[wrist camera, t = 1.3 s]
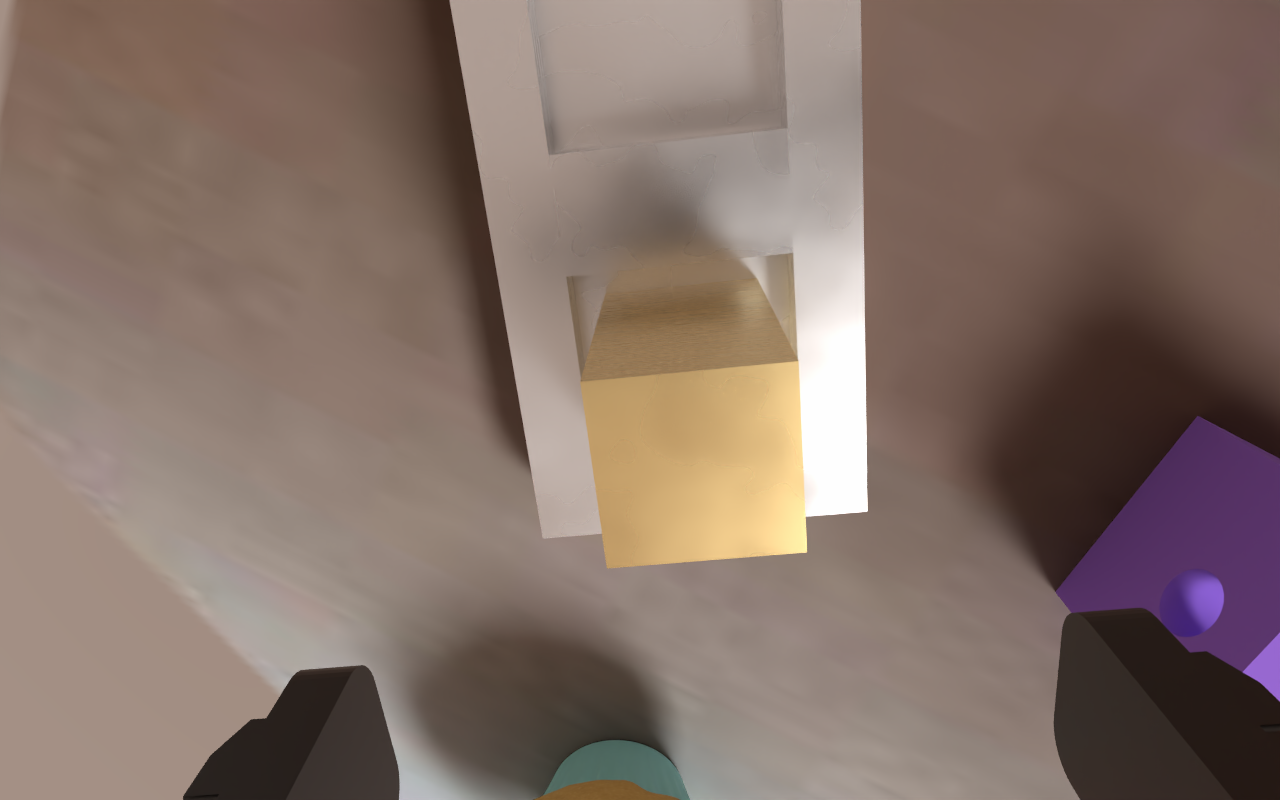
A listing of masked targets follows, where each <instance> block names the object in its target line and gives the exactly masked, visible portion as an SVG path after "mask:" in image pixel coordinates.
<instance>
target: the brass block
mask: <svg viewBox="0 0 1280 800" xmlns="http://www.w3.org/2000/svg"><path fill="white" fill-rule="evenodd" d="M580 385H581V392H582V399H583V406H584V413H585V420H586V427H587V433H588V440H589V447H590V454H591V461H592V468H593V475H594V482H595V489H596V496H597V503H598V510H599V517H600V524H601V531H602V537H603V544H604V551H605V558H606V565H607V568H618V567H630V566H643V565H655V564H668V563H680V562H692V561H705V560H717V559H730V558H742V557H754V556H767V555H779V554H792V553H804V552H807V540H806V517H805V494H804V471H803V448H802V424H801V401H800V378H799V361H798V359H797V357H796V355H795V353H794V351H793V349H792V347H791V345H790V343H789V341H788V339H787V337H786V335H785V333H784V331H783V329H782V327H781V325H780V323H779V321H778V319H777V317H776V315H775V313H774V311H773V309H772V307H771V305H770V303H769V301H768V299H767V297H766V295H765V293H764V291H763V289H762V287H761V285H760V283H759V281H758V279H757V278H752V279H743V280H733V281H723V282H713V283H703V284H694V285H684V286H674V287H664V288H654V289H645V290H635V291H625V292H615V293H606V294H605V296H604V300H603V303H602V307H601V310H600V314H599V317H598V321H597V324H596V328H595V331H594V335H593V338H592V342H591V345H590V349H589V352H588V356H587V359H586V363H585V366H584V370H583V373H582V377H581V380H580Z"/></svg>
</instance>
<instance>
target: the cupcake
mask: <svg viewBox="0 0 1280 800" xmlns="http://www.w3.org/2000/svg"><path fill="white" fill-rule="evenodd" d="M534 800H690V799H689V796H688V794H687V791H686V789H685V786H684V784H683V781H682V778H681V776H680V774H679V772H678V770H677V769H676V767H675V766H674V765H673V764H672V763H671V762H670V760H668V759H667V758H666V757H665V756H664V755H663V754H661V753H660V752H658V751H656V750H655V749H653V748H651V747H648V746H646V745H643V744H640V743H637V742H632V741H625V740H606V741H600V742H596V743H592V744H589V745H587V746H584V747H582V748H580V749H578V750H577V751H575V752H574V753H572V754H571V755H570V756H568V757H567V758H566V759H565V760H564V761H563V763H562V764H561V765H560V767H559V768H558V770H557V771H556V773H555V775H554V777H553V779H552V781H551V783H550V784H549V786H548V788H547V790H546V791H545V793H544V795H543V796H541V797H539V798H536V799H534Z"/></svg>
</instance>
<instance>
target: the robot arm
mask: <svg viewBox="0 0 1280 800" xmlns="http://www.w3.org/2000/svg"><path fill="white" fill-rule="evenodd" d="M1054 733H1055V740H1056V746H1057V750H1058V754H1059V757H1060V760H1061V763H1062V766H1063V768H1064V771H1065V773H1066V775H1067V778H1068V779H1069V781H1070V783H1071V785H1072V786H1073V788H1074V790H1075V791H1076V793H1077V795H1078V796H1079V798H1080V800H1280V701H1279V700H1278V699H1277V698H1276V697H1275V696H1274V695H1273V694H1272V693H1270V692H1269V691H1268V690H1267V689H1266V688H1265V687H1264V686H1263V685H1262V684H1261V683H1260V682H1258V681H1257V680H1255V679H1253V678H1252V677H1250V676H1248V675H1246V674H1245V673H1243V672H1241V671H1240V670H1238V669H1236V668H1235V667H1233V666H1231V665H1229V664H1228V663H1226V662H1224V661H1223V660H1221V659H1219V658H1218V657H1216V656H1214V655H1212V654H1211V653H1209V652H1207V651H1202V652H1189V651H1188V650H1187V649H1186V648H1185V647H1184V646H1183V645H1182V644H1181V643H1180V642H1179V640H1178V639H1177V638H1176V637H1175V636H1174V635H1173V634H1172V633H1171V632H1170V631H1169V630H1168V629H1167V628H1166V627H1165V626H1164V625H1163V624H1162V623H1161V622H1160V620H1159V619H1158V618H1157V617H1156V616H1155V615H1153V614H1152V613H1151V612H1150V611H1148V610H1147V609H1144V608H1127V609H1114V610H1101V611H1088V612H1075V613H1071V614H1069V615H1068V616H1067V617H1066V619H1065V621H1064V624H1063V629H1062V637H1061V648H1060V659H1059V669H1058V680H1057V691H1056V702H1055V712H1054ZM183 800H399V771H398V765H397V760H396V757H395V753H394V749H393V746H392V742H391V738H390V735H389V731H388V727H387V724H386V720H385V717H384V713H383V709H382V706H381V702H380V698H379V695H378V691H377V687H376V684H375V680H374V677H373V675H372V673H371V671H370V670H369V669H368V668H367V667H366V666H363V665H361V666H348V667H335V668H322V669H309V670H300V671H299V672H297V673H296V674H295V675H294V676H293V677H292V678H291V680H290V681H289V683H288V684H287V686H286V687H285V689H284V691H283V692H282V694H281V695H280V697H279V699H278V700H277V702H276V704H275V705H274V707H273V708H272V710H271V712H270V713H269V715H268V716H267V718H265V719H253V720H250V721H249V722H248V723H247V724H246V725H244V726H243V727H242V728H241V729H240V730H239V731H238V732H237V733H235V734H234V735H233V736H232V737H231V738H230V739H229V740H228V741H226V742H225V743H224V744H223V745H222V746H221V747H220V748H218V749H217V750H216V751H215V752H214V753H213V754H212V755H211V756H210V757H209V759H208V760H207V762H206V763H205V765H204V766H203V768H202V769H201V770H200V772H199V773H198V775H197V777H196V778H195V779H194V781H193V783H192V784H191V785H190V787H189V788H188V790H187V791H186V793H185V794H184V796H183Z"/></svg>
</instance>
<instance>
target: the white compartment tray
mask: <svg viewBox="0 0 1280 800" xmlns="http://www.w3.org/2000/svg"><path fill="white" fill-rule="evenodd" d="M450 6H451V12H452V18H453V23H454V29H455V35H456V41H457V46H458V52H459V58H460V64H461V69H462V75H463V81H464V87H465V92H466V98H467V104H468V110H469V115H470V121H471V127H472V133H473V138H474V144H475V150H476V156H477V161H478V167H479V173H480V179H481V184H482V190H483V196H484V202H485V207H486V213H487V219H488V225H489V230H490V236H491V242H492V248H493V253H494V259H495V265H496V271H497V276H498V282H499V288H500V294H501V299H502V305H503V311H504V317H505V323H506V328H507V334H508V340H509V346H510V351H511V357H512V363H513V369H514V374H515V380H516V386H517V392H518V397H519V403H520V409H521V415H522V420H523V426H524V432H525V438H526V443H527V449H528V455H529V461H530V466H531V472H532V478H533V484H534V489H535V495H536V501H537V507H538V512H539V518H540V524H541V530H542V535H543V538H555V537H567V536H579V535H591V534H602V531H601V524H600V517H599V510H598V503H597V496H596V489H595V482H594V475H593V468H592V461H591V454H590V447H589V440H588V433H587V427H586V420H585V413H584V406H583V399H582V392H581V385H580V380H581V377H582V373H583V370H584V366H585V363H586V359H587V356H588V352H589V349H590V345H591V342H592V338H593V335H594V331H595V328H596V324H597V321H598V317H599V314H600V310H601V307H602V303H603V300H604V296H605V294H606V293H615V292H625V291H635V290H645V289H654V288H664V287H674V286H684V285H694V284H703V283H713V282H723V281H733V280H743V279H752V278H757V279H758V281H759V283H760V285H761V287H762V289H763V291H764V293H765V295H766V297H767V299H768V301H769V303H770V305H771V307H772V309H773V311H774V313H775V315H776V317H777V319H778V321H779V323H780V325H781V327H782V329H783V331H784V333H785V335H786V337H787V339H788V341H789V343H790V345H791V347H792V349H793V351H794V353H795V355H796V357H797V359H798V361H799V378H800V401H801V424H802V448H803V471H804V494H805V517H807V516H819V515H831V514H843V513H855V512H867V456H866V378H865V300H864V223H863V145H862V67H861V0H450Z"/></svg>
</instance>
